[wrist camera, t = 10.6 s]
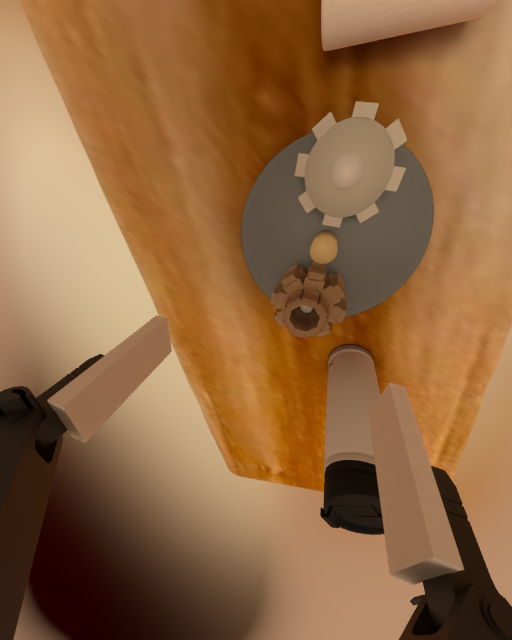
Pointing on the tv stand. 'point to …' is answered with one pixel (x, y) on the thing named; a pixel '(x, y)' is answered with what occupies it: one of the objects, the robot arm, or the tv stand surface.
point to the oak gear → (309, 300)
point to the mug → (390, 18)
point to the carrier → (341, 209)
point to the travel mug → (351, 443)
